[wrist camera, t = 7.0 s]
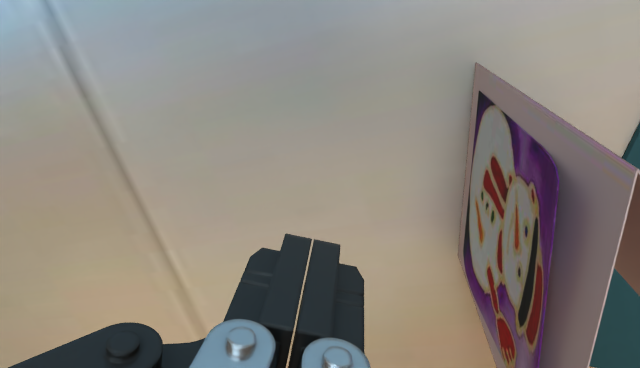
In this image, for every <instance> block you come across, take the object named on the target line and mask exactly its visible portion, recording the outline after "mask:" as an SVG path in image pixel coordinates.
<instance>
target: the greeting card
mask: <svg viewBox="0 0 640 368" xmlns="http://www.w3.org/2000/svg"><path fill="white" fill-rule="evenodd" d="M458 257H459V260H460V263H461V266H462V268H463V271H464V274H465V277H466V280H467V283H468V286H469V289H470V291H471V294H472V297H473V300H474V303H475V306H476V309H477V312H478V314H479V317H480V320H481V323H482V326H483V329H484V332H485V335H486V337H487V340H488V343H489V346H490V349H491V352H492V355H493V358H494V361H495V363H496V366H497V368H589V364H590V360H591V356H592V353H593V349H594V345H595V341H596V337H597V333H598V329H599V325H600V321H601V317H602V313H603V309H604V305H605V301H606V297H607V293H608V289H609V285H610V281H611V277H612V273H613V270H614V268H615V269H616V270H617V272H618V273H619V274H620V275H621V276H622V277H623V278H624V279H625V280H626V282H627V283H628V284H629V285H630V286H631V287H632V288H633V289H634V291H635V292H636V293H637V294H638V295H639V296H640V170H639V169H638V168H636V167H635V166H633V165H632V164H630V163H629V162H627V161H626V160H624V159H623V158H621V157H620V156H618V155H616V154H615V153H613V152H612V151H610V150H609V149H607V148H606V147H604V146H603V145H601V144H600V143H598V142H597V141H595V140H594V139H592V138H591V137H589V136H588V135H586V134H585V133H583V132H582V131H580V130H578V129H577V128H575V127H574V126H572V125H571V124H569V123H568V122H566V121H565V120H563V119H562V118H560V117H559V116H557V115H556V114H554V113H553V112H551V111H550V110H548V109H547V108H545V107H543V106H542V105H540V104H539V103H537V102H536V101H534V100H533V99H531V98H530V97H528V96H527V95H525V94H524V93H522V92H521V91H519V90H518V89H516V88H515V87H513V86H512V85H510V84H509V83H507V82H505V81H504V80H502V79H501V78H499V77H498V76H496V75H495V74H493V73H492V72H490V71H489V70H487V69H486V68H484V67H483V66H481V65H480V64H478V63H477V62H476V65H475V76H474V86H473V97H472V108H471V119H470V129H469V140H468V151H467V162H466V172H465V183H464V194H463V205H462V215H461V226H460V237H459V248H458Z"/></svg>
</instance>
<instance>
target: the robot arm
mask: <svg viewBox="0 0 640 368" xmlns="http://www.w3.org/2000/svg"><path fill="white" fill-rule="evenodd" d="M311 241H312V239H310V238H305V237H300V236H295V235H290V234H285V237H284V240H283V244H282V247H281V250H280V251H276V250H271V249H266V248H261V249H260V250H259V251H257V252H256V253H255V254H253V255H252V256H251V257H250V259H249V261H248V264H247V266H246V268H245V272H244V273H243V276H242V278H241V281H240V283H239V285H238V288H237V290H236V292H235V295H234V297H233V300H232V302H231V304H230V307H229V309H228V312H227V314H226V316H225V319H224V321H223V322H222V323H220V324H218V325H217V326H215V327H214V328H213V329H212V330H211V331H210V332H209V334H208V335H207V337H206V338H204V339H202V340H199V341H195V342H190V343H179V344H163V343H162V339H161V337H160V335H159V334H158V333H157V332H156V331H155V330H154V329H152V328H151V327H149V326H146V325H143V324H139V323H119V324H115V325H111V326H108V327H106V328H103V329H101V330H98V331H96V332H93V333H91V334H89V335H86V336H84V337H81V338H79V339H76V340H74V341H72V342H69V343H67V344H64V345H62V346H59V347H57V348H55V349H52V350H50V351H47V352H45V353H42V354H40V355H38V356H35V357H33V358H30V359H28V360H25V361H23V362H21V363H18V364H16V365H13V366H11V367H8V368H286V363H287V358H288V353H289V348H290V344H291V339H292V334H293V329H294V324H295V319H296V314H297V309H298V305H299V300H300V295H301V290H302V285H303V280H304V275H305V270H306V265H307V260H308V255H309V250H310V245H311ZM339 255H340V245H339V244H334V243H329V242H325V241H320V240H315V239H314V243H313V247H312V252H311V257H310V262H309V266H308V271H307V276H306V281H305V285H304V290H303V295H302V300H301V305H300V310H299V315H298V320H297V325H296V330H295V336H294V341H293V346H292V351H291V356H290V361H289V366H288V368H370V364H369V361H368V359H367V357H366V356H365V354H364V279H363V278H362V276H361V274H360V273H359V271H358V269H357V267H354V266H349V265H344V264H340V263H339Z"/></svg>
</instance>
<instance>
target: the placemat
mask: <svg viewBox="0 0 640 368" xmlns="http://www.w3.org/2000/svg"><path fill="white" fill-rule="evenodd" d="M622 158H623V159H624V160H626V161H627V162H629V163H630V164H632V165H633V166H635V167H636V168H638V169H639V170H640V123H639V125H638V127H637V129H636V131H635V133H634V135H633V137H632V139H631V141H630V143H629V145H628V147H627V149H626V151H625V153H624V155H623V157H622ZM589 366H591V367H596V368H640V296H639V295H638V294H637V293H636V292H635V291H634V289H633V288H632V287H631V286H630V285H629V284H628V283H627V282H626V280H625V279H624V278H623V277H622V276H621V275H620V274H619V273H618V272H617V270H616V269H615V268H614V270H613V273H612V277H611V281H610V285H609V289H608V293H607V297H606V301H605V305H604V309H603V313H602V317H601V321H600V325H599V329H598V333H597V337H596V341H595V345H594V349H593V353H592V356H591V360H590V364H589Z"/></svg>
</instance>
